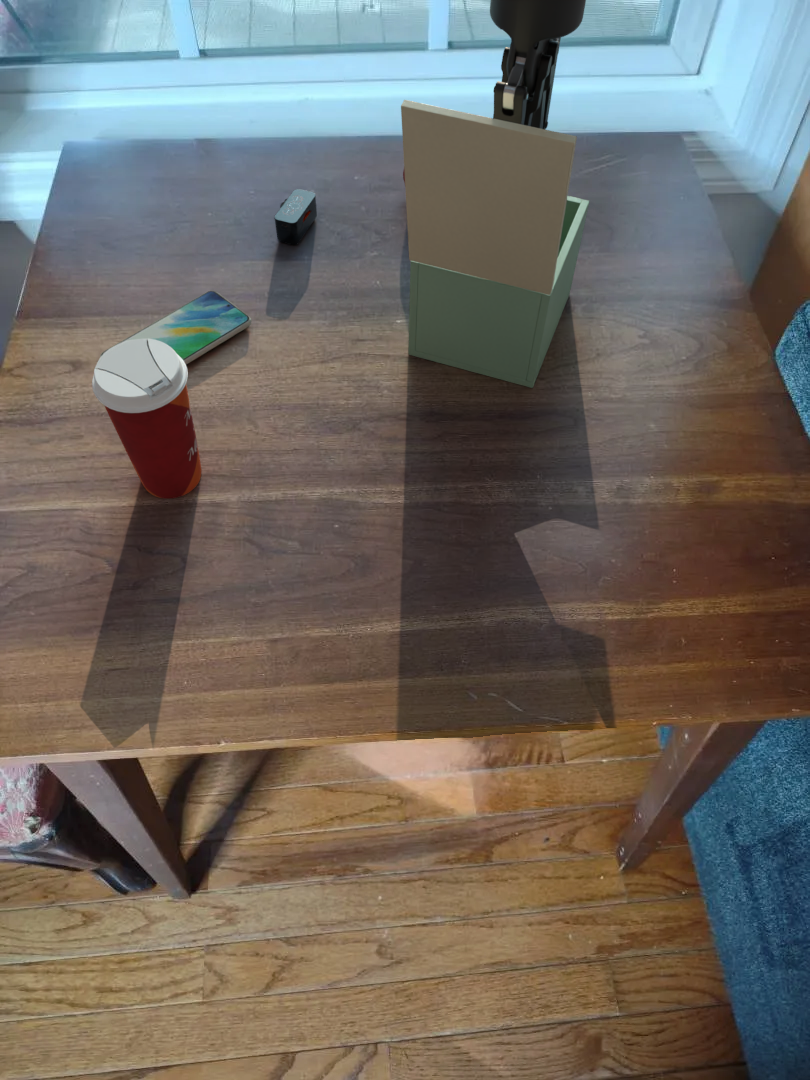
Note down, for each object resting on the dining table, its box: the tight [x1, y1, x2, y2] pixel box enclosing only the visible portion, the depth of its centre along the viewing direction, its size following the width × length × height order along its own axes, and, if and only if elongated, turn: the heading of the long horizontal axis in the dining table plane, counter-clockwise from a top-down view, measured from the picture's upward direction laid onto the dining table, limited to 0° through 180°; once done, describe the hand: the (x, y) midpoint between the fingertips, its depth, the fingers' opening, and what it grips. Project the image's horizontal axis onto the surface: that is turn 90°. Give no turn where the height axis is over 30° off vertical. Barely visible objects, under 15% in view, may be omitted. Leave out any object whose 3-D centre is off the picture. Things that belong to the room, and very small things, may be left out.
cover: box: [400, 99, 578, 295], centre depth 72 cm, size 16×14×1 cm
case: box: [407, 195, 590, 389], centre depth 89 cm, size 16×14×12 cm
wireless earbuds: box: [274, 188, 318, 246], centre depth 101 cm, size 5×7×3 cm, turn 160°
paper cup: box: [91, 339, 202, 500], centre depth 75 cm, size 8×8×14 cm
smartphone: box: [99, 290, 252, 365], centre depth 91 cm, size 7×1×15 cm
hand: (508, 226), depth 86 cm, fingers closed on pepper shaker, 5 cm apart
